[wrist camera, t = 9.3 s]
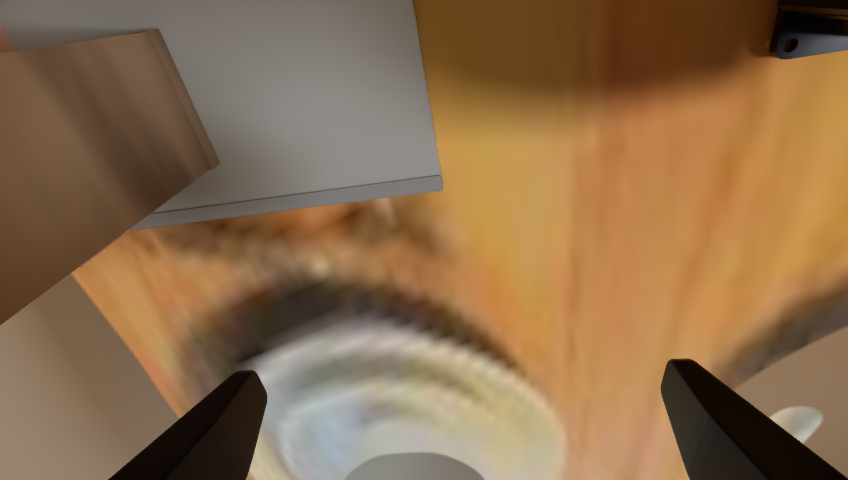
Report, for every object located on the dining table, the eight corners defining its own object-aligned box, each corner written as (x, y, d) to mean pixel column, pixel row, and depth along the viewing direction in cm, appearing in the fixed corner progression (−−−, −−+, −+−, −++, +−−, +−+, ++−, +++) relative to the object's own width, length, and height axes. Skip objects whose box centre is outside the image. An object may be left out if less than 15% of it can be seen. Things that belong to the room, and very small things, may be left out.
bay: (393, -122, 14) (373, -155, 11) (443, 186, 21) (440, 225, 17) (-41, -13, 17) (-163, -13, 14) (117, 228, 23) (60, 269, 20)
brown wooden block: (158, 28, 17) (-370, 105, 6) (220, 163, 20) (-59, 372, 9) (37, 53, 18) (-608, 159, 7) (114, 179, 21) (-253, 387, 10)
